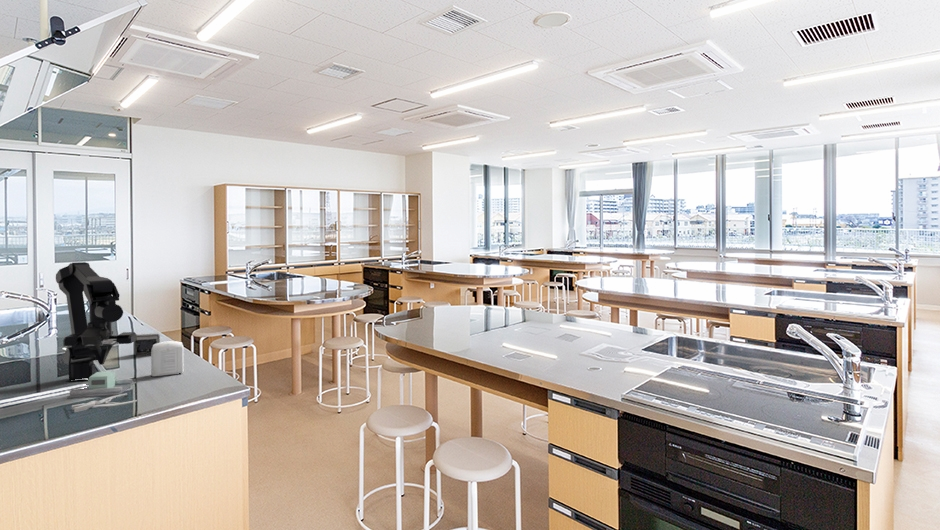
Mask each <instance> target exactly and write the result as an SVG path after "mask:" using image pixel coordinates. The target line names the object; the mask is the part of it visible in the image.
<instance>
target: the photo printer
mask: <svg viewBox="0 0 940 530" xmlns="http://www.w3.org/2000/svg"><path fill="white" fill-rule="evenodd" d="M184 353H185V349H184V344H183V342H182V341H181V342H180V341H176V340H167V341H160V343H157V344H154V345H153V347H152V349H151V355H150V357H151V358H150V359H151V363H150V364H151V365H150V369H151V370H150V372H151V374H150V375H151V377H161V376H169V375H177V374H178V375H180V374H179V373H181V374H183V373H184V371H185V370H184V369H185V365H184V363H185V354H184Z"/></svg>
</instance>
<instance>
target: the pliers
mask: <svg viewBox="0 0 940 530" xmlns="http://www.w3.org/2000/svg"><path fill="white" fill-rule="evenodd" d="M127 395H128V393H127V392H125V393H121V394H120V395H116V396H107V397H106V398H103V399H100V400H91V401H89V402H87V403H80V404H79V403H78V404H72V405H71V410H72V411H73V413H78V412H83V411H86V410H89V409H95V408H96V409H97V408H108V407H109V408H110V407H117V406H123V405H124V406H125V405H129V404H132V403H136V402H138V399H134V400H130V401H123V402H114V401H113V402H111V401H112V400H113V399H116V397H117V398H120V397H124V396H127Z"/></svg>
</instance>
